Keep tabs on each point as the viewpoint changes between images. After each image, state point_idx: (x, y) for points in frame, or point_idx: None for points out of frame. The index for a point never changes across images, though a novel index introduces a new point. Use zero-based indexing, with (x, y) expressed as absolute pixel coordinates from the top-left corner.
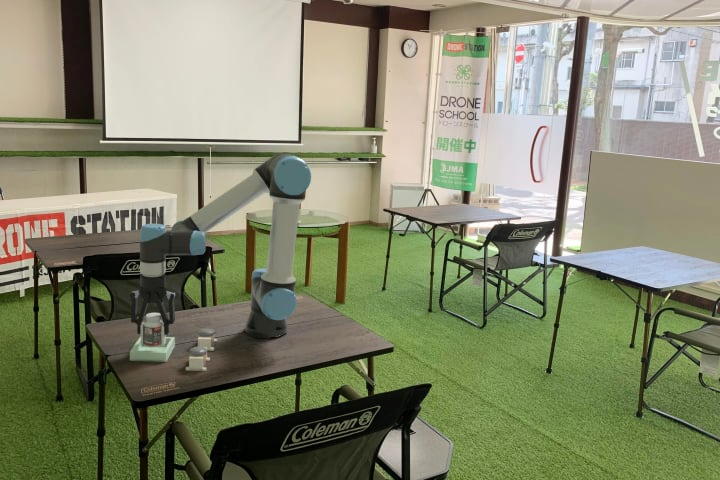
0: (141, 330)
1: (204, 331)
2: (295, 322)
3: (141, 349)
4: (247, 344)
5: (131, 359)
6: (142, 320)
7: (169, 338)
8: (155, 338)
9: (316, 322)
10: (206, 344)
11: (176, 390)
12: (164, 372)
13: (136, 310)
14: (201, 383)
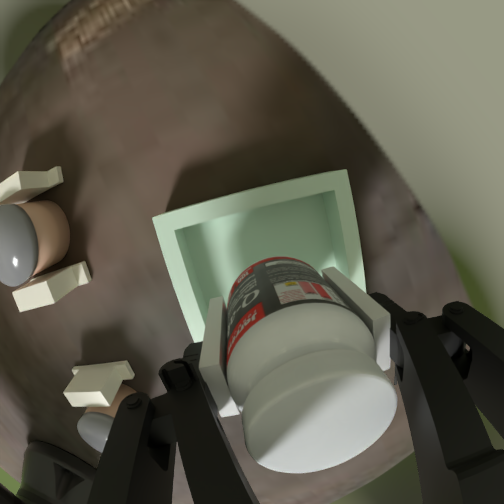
0: (365, 299)
1: None
2: None
3: None
4: (42, 414)
5: (324, 172)
6: (398, 369)
7: None
8: (248, 286)
9: None
10: (83, 378)
11: (53, 31)
12: (124, 112)
13: (486, 389)
14: (3, 107)
